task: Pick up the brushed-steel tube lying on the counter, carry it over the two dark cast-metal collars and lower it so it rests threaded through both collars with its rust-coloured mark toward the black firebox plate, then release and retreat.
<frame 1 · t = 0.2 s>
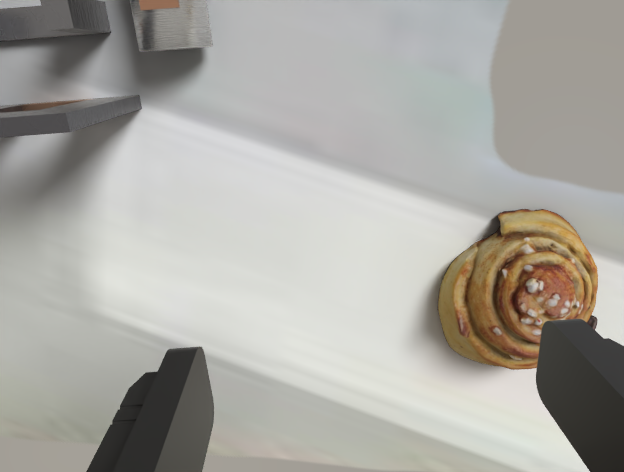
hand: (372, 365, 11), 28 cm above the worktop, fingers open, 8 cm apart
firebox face: (63, 107, 36), on the worktop
pastry: (507, 285, 43), on the worktop
collar 2: (41, 22, 34), on the worktop
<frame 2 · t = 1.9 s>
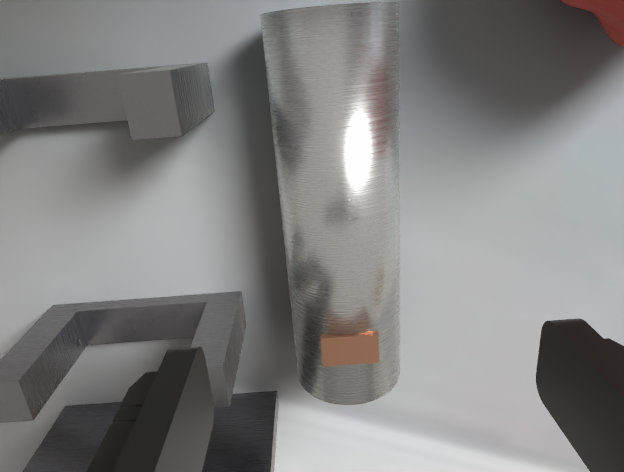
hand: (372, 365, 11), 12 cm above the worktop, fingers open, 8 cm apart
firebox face: (172, 405, 27), on the worktop
tube: (336, 198, 22), on the worktop
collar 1: (98, 96, 20), on the worktop
collar 2: (150, 315, 24), on the worktop
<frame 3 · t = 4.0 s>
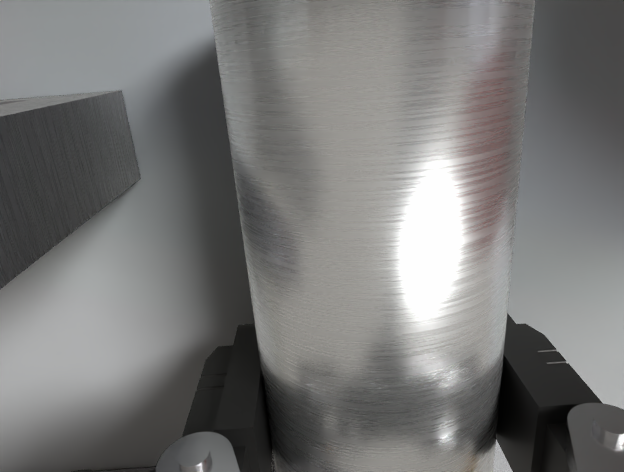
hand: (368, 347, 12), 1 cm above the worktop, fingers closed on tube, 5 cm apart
tube: (366, 323, 13), on the worktop, touching gripper
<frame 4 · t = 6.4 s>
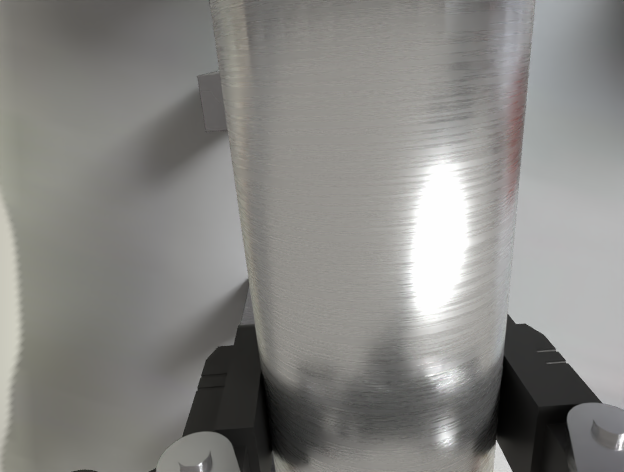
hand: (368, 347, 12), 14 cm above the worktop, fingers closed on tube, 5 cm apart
tube: (366, 325, 13), point 13 cm above the worktop, touching gripper
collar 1: (325, 83, 23), on the worktop
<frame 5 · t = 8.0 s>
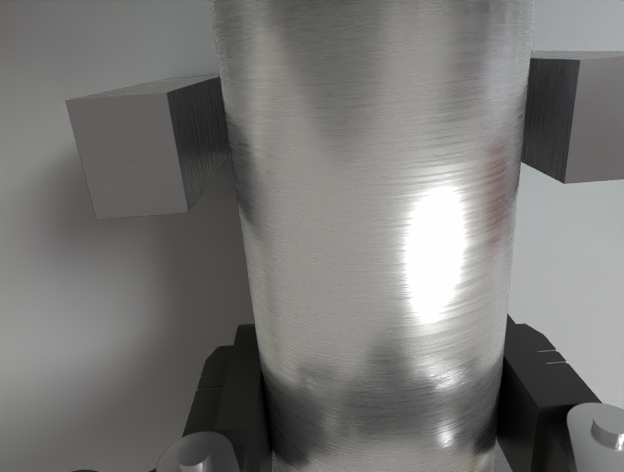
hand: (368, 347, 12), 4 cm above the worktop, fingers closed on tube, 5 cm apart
tube: (366, 326, 13), point 3 cm above the worktop, touching gripper
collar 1: (343, 102, 13), on the worktop
collar 2: (358, 408, 17), on the worktop
when the fingers open (3 cm above the worktop, at t = 9.0 s): tube drops 1 cm, resting on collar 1, collar 2.
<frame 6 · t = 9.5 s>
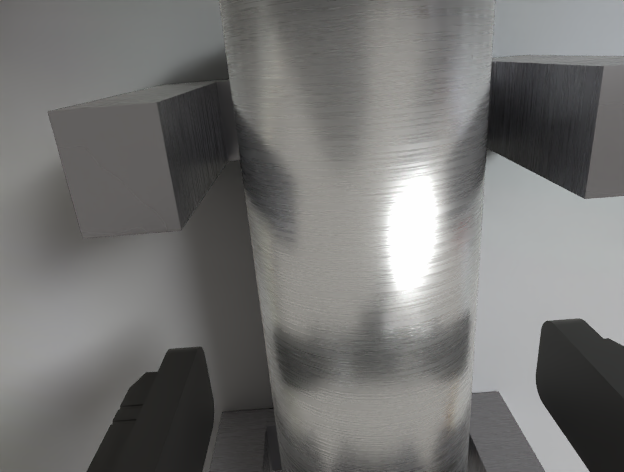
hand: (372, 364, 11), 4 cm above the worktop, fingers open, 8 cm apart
tube: (361, 300, 14), point 1 cm above the worktop, touching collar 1, collar 2
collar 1: (346, 108, 13), on the worktop
collar 2: (361, 424, 17), on the worktop
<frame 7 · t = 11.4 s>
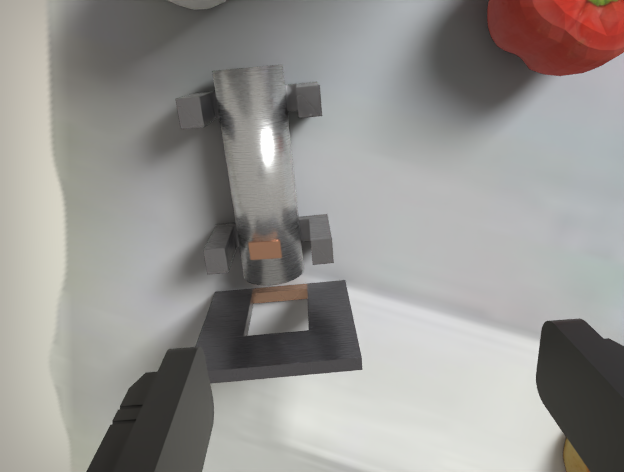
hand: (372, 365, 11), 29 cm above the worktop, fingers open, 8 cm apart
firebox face: (280, 291, 43), on the worktop
tube: (266, 170, 38), point 1 cm above the worktop, touching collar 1, collar 2
pastry: (621, 435, 51), on the worktop
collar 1: (256, 100, 37), on the worktop
collar 2: (273, 230, 41), on the worktop
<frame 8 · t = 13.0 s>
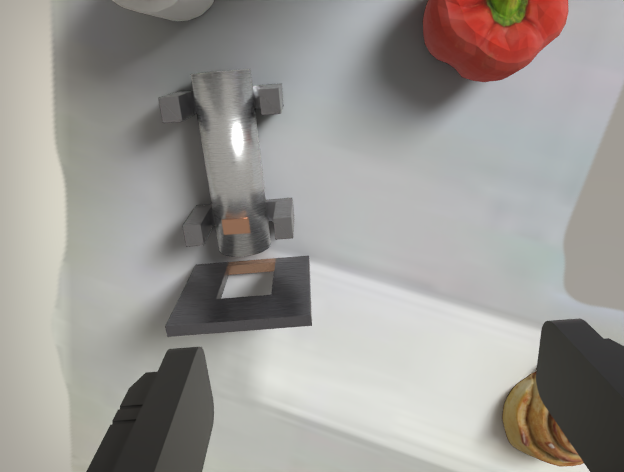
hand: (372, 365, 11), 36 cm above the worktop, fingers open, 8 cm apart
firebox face: (252, 264, 50), on the worktop
vegetable: (469, 14, 42), on the worktop
tube: (238, 158, 45), point 1 cm above the worktop, touching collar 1, collar 2
pastry: (553, 400, 58), on the worktop
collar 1: (230, 98, 44), on the worktop
collar 2: (245, 210, 48), on the worktop
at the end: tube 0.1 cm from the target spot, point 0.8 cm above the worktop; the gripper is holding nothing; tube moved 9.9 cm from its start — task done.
